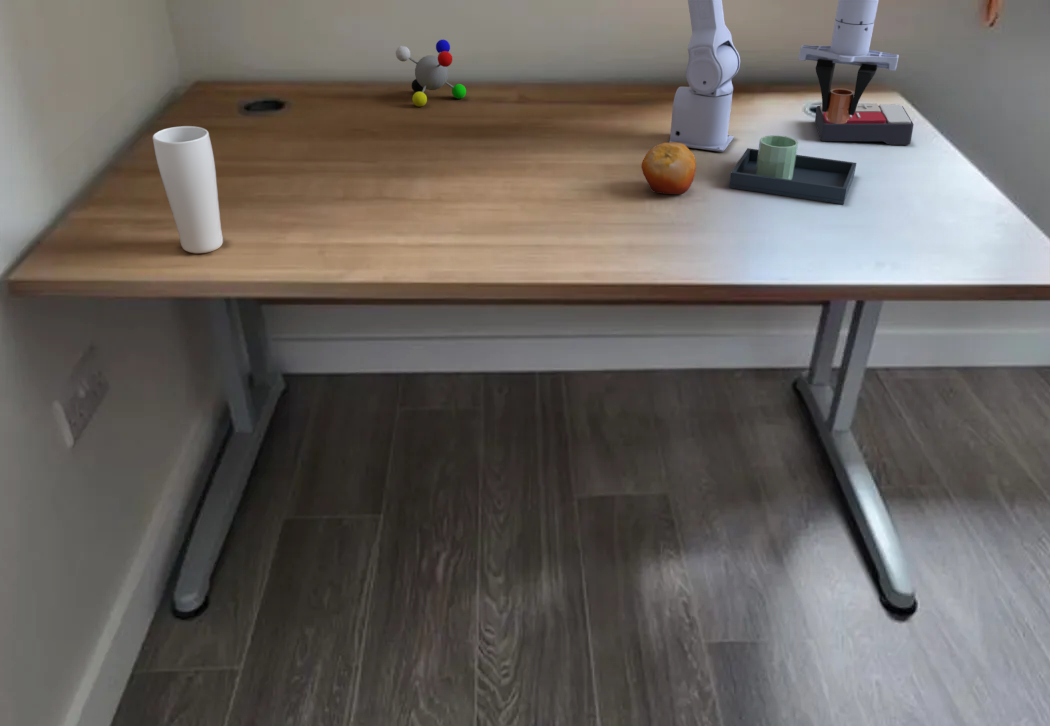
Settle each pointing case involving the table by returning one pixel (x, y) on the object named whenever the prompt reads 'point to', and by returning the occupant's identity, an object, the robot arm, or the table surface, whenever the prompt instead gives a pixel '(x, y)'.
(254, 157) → the table surface
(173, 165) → the drinking glass
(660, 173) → the fruit
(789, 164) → the green cup
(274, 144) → the table surface
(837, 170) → the tray
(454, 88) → the molecular model
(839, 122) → the brown cup
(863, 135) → the grey and red box
